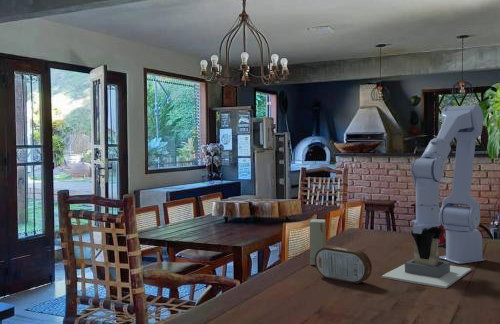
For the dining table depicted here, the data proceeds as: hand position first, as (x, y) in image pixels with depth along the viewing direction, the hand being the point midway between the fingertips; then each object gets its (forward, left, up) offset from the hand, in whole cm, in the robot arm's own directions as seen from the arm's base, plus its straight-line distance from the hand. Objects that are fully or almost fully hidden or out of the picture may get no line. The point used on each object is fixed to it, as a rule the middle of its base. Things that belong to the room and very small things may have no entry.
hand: (427, 257), depth 132 cm
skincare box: (+20, -22, -5) cm, 30 cm away
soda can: (-27, -28, -5) cm, 39 cm away
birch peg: (0, 0, -3) cm, 3 cm away
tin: (+23, -4, -5) cm, 24 cm away
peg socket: (0, 0, -4) cm, 4 cm away
